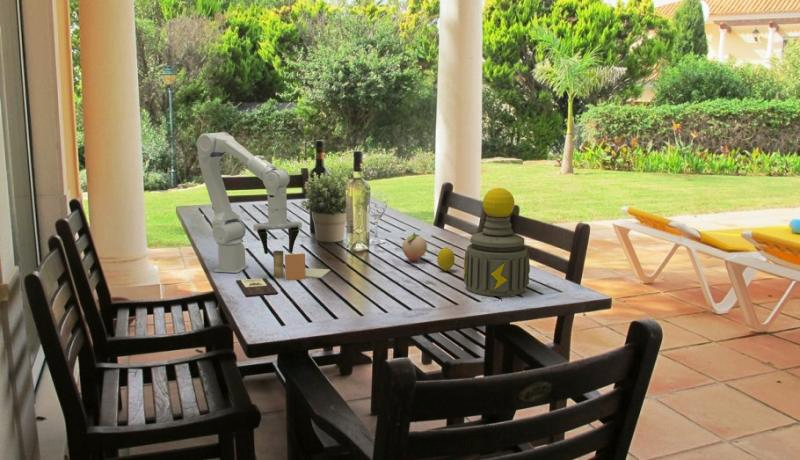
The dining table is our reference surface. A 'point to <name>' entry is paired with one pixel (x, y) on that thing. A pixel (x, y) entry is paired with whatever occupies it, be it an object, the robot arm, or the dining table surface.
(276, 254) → the dowel
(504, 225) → the decorative lamp
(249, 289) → the chocolate bar
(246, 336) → the dining table surface
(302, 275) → the tile
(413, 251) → the decorative fruit
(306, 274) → the mat
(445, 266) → the lemon
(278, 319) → the dining table surface
